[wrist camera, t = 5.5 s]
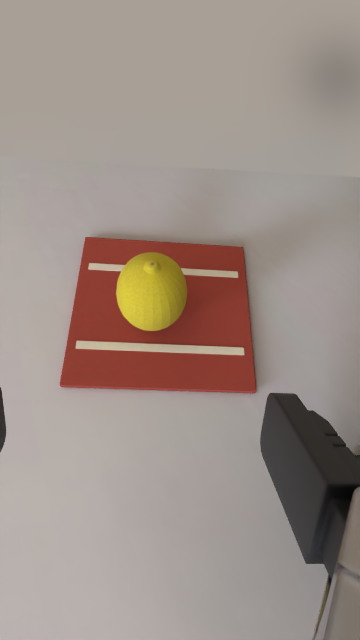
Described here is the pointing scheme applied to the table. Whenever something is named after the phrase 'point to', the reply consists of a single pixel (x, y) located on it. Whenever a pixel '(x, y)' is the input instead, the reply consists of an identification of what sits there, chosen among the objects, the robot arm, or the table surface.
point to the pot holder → (169, 343)
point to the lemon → (151, 291)
